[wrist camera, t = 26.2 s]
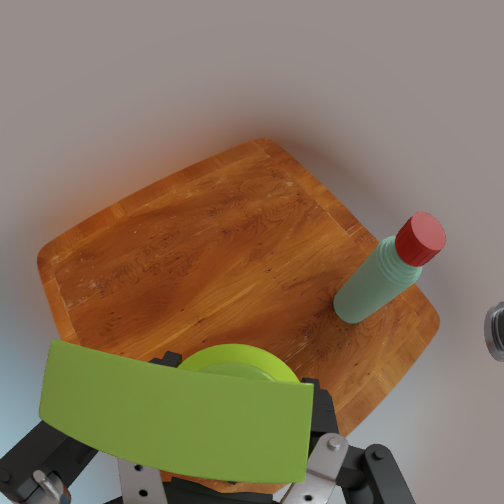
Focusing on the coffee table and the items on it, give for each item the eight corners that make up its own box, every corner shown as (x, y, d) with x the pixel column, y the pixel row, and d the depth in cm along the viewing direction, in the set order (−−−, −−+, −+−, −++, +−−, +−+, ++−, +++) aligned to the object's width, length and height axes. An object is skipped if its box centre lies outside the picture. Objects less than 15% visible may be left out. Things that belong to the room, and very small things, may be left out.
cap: (410, 274, 23) (429, 257, 20) (386, 238, 25) (402, 218, 22) (434, 257, 24) (452, 241, 21) (412, 225, 26) (427, 206, 23)
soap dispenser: (192, 368, 23) (67, 245, 5) (274, 377, 23) (392, 281, 5) (184, 433, 20) (22, 495, 2) (267, 443, 20) (373, 556, 2)
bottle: (373, 296, 40) (449, 226, 23) (361, 329, 37) (445, 273, 21) (340, 280, 41) (403, 199, 24) (327, 313, 38) (394, 244, 22)
